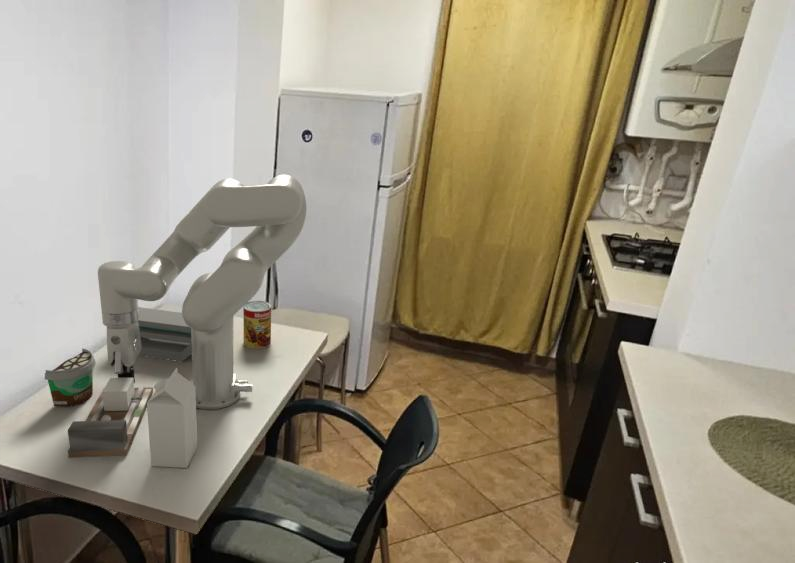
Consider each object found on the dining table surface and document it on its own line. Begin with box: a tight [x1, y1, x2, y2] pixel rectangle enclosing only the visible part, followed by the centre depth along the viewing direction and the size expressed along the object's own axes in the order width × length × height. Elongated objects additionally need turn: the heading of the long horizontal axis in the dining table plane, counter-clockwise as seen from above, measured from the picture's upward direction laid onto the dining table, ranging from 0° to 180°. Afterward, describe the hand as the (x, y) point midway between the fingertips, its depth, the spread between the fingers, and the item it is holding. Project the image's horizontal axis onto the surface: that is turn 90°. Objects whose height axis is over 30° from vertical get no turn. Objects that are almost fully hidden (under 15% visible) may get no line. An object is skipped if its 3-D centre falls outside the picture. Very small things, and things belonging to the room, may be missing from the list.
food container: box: [44, 348, 96, 408], centre depth 130 cm, size 12×6×10 cm, turn 168°
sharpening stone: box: [138, 306, 192, 362], centre depth 154 cm, size 25×8×11 cm, turn 84°
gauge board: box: [67, 385, 154, 458], centre depth 124 cm, size 24×11×6 cm, turn 11°
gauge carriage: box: [101, 377, 142, 411], centre depth 128 cm, size 7×7×5 cm
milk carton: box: [146, 367, 198, 469], centre depth 112 cm, size 7×7×19 cm
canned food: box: [242, 300, 272, 350], centre depth 164 cm, size 8×8×12 cm
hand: (126, 385), depth 133 cm, fingers closed
